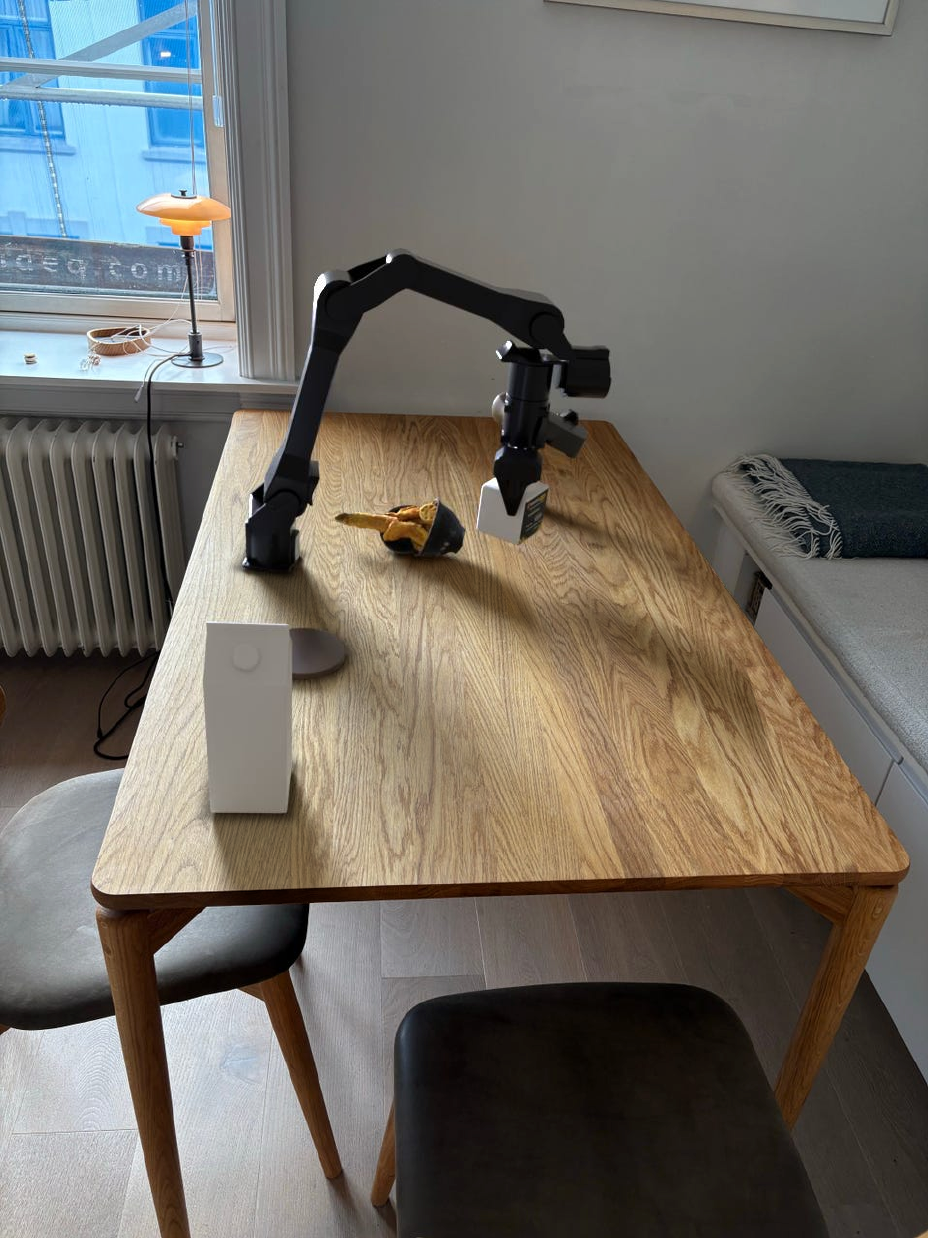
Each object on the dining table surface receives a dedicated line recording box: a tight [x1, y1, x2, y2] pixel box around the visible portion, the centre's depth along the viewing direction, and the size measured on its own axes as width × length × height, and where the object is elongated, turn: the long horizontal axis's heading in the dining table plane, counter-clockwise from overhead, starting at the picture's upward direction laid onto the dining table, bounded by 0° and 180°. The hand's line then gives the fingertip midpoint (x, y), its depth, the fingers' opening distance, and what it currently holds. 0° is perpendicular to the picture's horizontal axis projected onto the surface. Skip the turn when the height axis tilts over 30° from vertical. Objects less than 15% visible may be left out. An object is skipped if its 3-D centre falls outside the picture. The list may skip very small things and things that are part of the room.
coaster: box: [289, 627, 346, 680], centre depth 113 cm, size 10×10×1 cm
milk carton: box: [202, 620, 293, 814], centre depth 88 cm, size 7×7×19 cm
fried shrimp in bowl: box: [334, 498, 467, 558], centre depth 136 cm, size 9×11×18 cm
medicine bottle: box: [476, 447, 550, 546], centre depth 133 cm, size 7×7×12 cm
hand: (513, 502), depth 134 cm, fingers closed on medicine bottle, 9 cm apart
